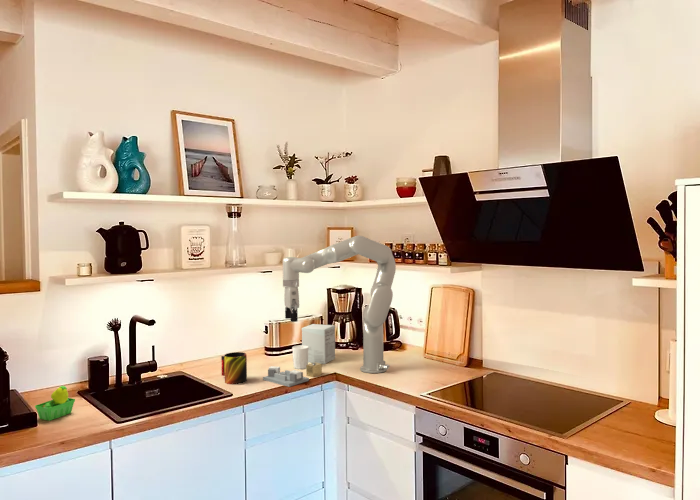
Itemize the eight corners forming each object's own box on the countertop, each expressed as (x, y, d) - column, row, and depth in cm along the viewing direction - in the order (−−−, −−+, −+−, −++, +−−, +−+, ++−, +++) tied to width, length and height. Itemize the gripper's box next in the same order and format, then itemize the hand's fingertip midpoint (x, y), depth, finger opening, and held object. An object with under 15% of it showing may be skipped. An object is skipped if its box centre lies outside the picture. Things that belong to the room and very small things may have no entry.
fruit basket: (61, 409, 200) (60, 380, 200) (79, 412, 197) (78, 382, 197) (33, 420, 190) (33, 388, 189) (51, 423, 187) (51, 391, 186)
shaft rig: (308, 380, 236) (308, 369, 236) (289, 386, 227) (288, 375, 227) (281, 373, 248) (281, 363, 248) (261, 379, 239) (261, 368, 239)
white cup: (307, 369, 256) (307, 348, 255) (291, 369, 256) (291, 348, 255) (309, 365, 264) (309, 345, 263) (293, 365, 264) (293, 345, 263)
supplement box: (335, 358, 277) (335, 325, 277) (325, 364, 265) (324, 329, 265) (313, 356, 282) (312, 323, 282) (301, 362, 270) (301, 327, 270)
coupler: (315, 373, 249) (315, 361, 249) (321, 374, 246) (321, 362, 246) (306, 375, 244) (306, 364, 244) (312, 377, 242) (312, 365, 242)
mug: (222, 377, 243) (222, 351, 243) (250, 379, 240) (250, 352, 239) (212, 383, 234) (211, 356, 233) (241, 385, 231) (240, 357, 230)
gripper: (303, 285, 242) (304, 322, 243) (293, 281, 258) (294, 316, 259) (287, 285, 239) (288, 323, 240) (278, 282, 255) (279, 317, 256)
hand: (291, 319), depth 249 cm, fingers open, 9 cm apart
